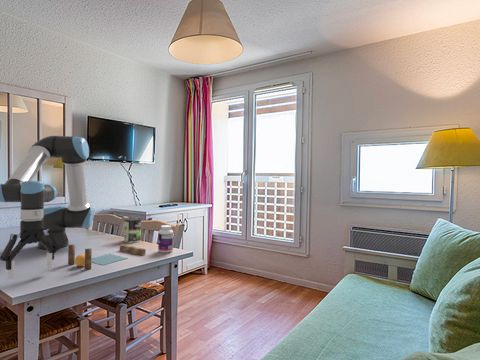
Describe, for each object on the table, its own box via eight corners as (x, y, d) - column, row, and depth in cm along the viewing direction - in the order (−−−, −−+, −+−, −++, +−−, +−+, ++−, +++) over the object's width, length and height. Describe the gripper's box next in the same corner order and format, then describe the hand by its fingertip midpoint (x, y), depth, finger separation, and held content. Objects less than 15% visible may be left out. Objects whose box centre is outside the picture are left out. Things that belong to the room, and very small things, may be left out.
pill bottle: (159, 249, 168) (160, 224, 168) (173, 249, 169) (174, 224, 169) (156, 253, 160) (157, 227, 160) (171, 253, 161) (172, 227, 161)
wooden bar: (119, 250, 164) (119, 245, 164) (122, 249, 166) (122, 244, 166) (142, 255, 155) (142, 249, 155) (145, 254, 157) (145, 249, 157)
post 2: (83, 269, 131) (83, 249, 130) (88, 267, 133) (89, 248, 133) (87, 270, 129) (87, 250, 129) (92, 268, 132) (92, 248, 131)
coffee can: (143, 239, 192) (144, 218, 191) (135, 243, 182) (135, 220, 181) (129, 238, 194) (130, 217, 193) (120, 242, 184) (120, 219, 183)
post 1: (66, 264, 137) (67, 245, 136) (72, 263, 139) (72, 244, 139) (70, 265, 135) (70, 246, 135) (75, 264, 138) (76, 245, 138)
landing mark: (84, 260, 144) (84, 260, 144) (109, 254, 156) (109, 253, 156) (102, 265, 137) (102, 264, 137) (127, 258, 149) (127, 258, 149)
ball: (75, 268, 135) (70, 258, 133) (85, 260, 139) (80, 251, 137) (82, 270, 132) (77, 260, 130) (92, 262, 136) (88, 252, 134)
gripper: (-2, 224, 104) (-3, 284, 104) (68, 217, 125) (67, 266, 126) (-11, 222, 107) (-12, 280, 107) (58, 215, 129) (58, 263, 129)
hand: (31, 272), depth 117 cm, fingers open, 13 cm apart
